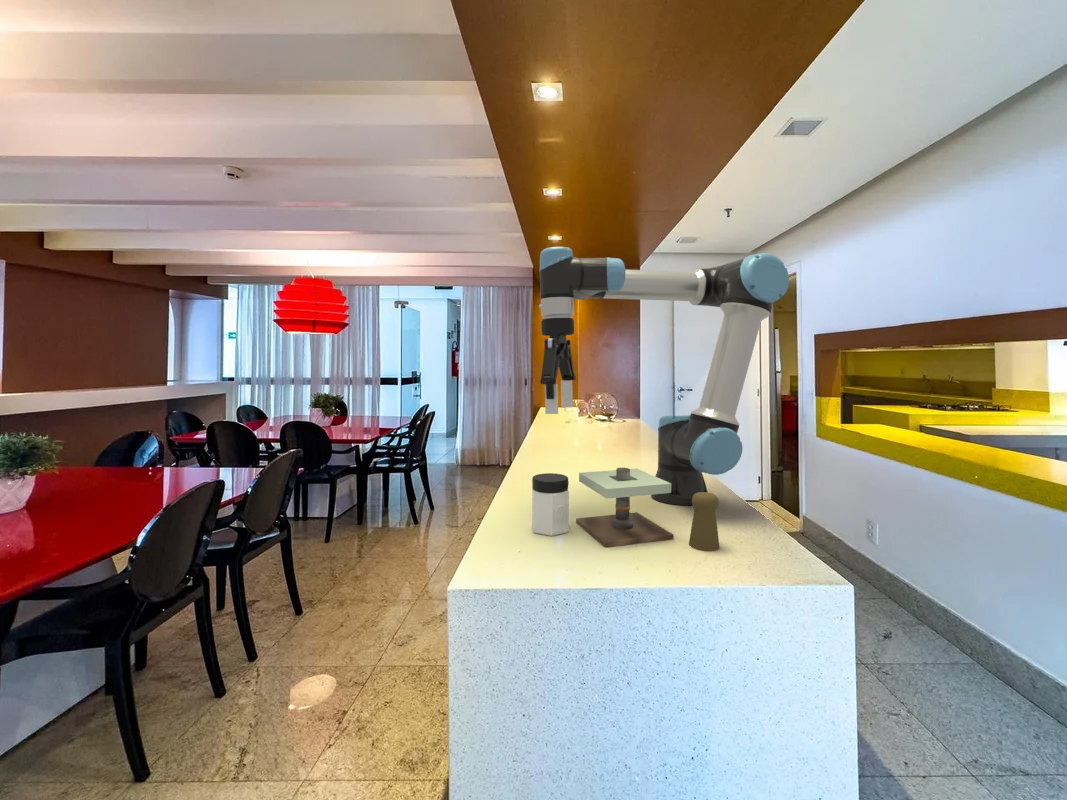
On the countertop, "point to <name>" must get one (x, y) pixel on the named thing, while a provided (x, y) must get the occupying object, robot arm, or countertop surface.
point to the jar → (550, 504)
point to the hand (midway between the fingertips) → (559, 410)
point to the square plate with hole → (624, 484)
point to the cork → (704, 522)
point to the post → (623, 523)
